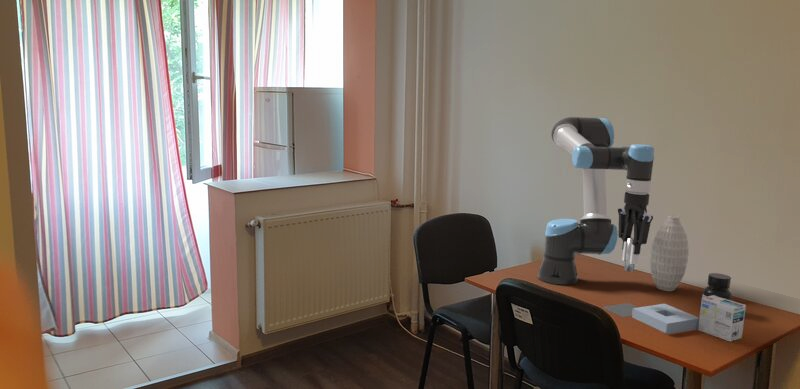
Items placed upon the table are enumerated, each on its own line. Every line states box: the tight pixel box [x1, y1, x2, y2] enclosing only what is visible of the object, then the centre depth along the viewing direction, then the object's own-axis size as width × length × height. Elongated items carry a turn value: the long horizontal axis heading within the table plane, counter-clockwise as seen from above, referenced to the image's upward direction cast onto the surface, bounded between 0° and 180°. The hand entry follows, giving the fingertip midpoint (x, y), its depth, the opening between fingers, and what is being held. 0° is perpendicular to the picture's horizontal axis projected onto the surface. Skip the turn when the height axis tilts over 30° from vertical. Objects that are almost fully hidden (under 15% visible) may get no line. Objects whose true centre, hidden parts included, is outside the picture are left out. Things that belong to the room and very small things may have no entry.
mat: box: [601, 302, 638, 318], centre depth 209 cm, size 10×12×1 cm
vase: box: [650, 214, 689, 292], centre depth 232 cm, size 13×13×28 cm
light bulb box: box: [697, 295, 747, 342], centre depth 190 cm, size 11×7×11 cm, turn 33°
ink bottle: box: [701, 272, 733, 301], centre depth 213 cm, size 10×9×12 cm
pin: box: [623, 236, 635, 273], centre depth 206 cm, size 3×3×11 cm
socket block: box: [631, 303, 699, 335], centre depth 198 cm, size 14×14×4 cm
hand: (629, 261), depth 206 cm, fingers closed on pin, 3 cm apart
